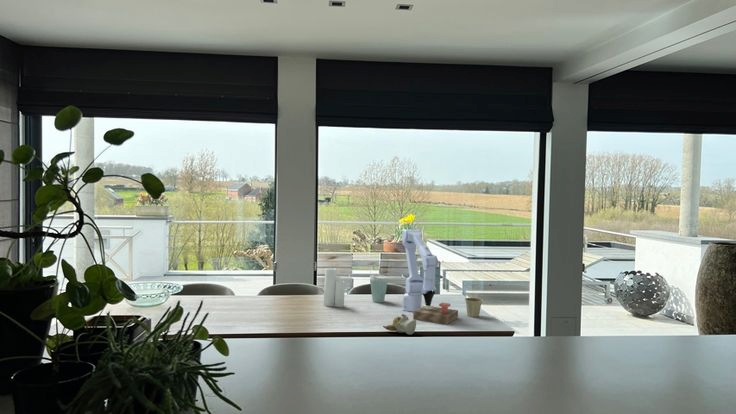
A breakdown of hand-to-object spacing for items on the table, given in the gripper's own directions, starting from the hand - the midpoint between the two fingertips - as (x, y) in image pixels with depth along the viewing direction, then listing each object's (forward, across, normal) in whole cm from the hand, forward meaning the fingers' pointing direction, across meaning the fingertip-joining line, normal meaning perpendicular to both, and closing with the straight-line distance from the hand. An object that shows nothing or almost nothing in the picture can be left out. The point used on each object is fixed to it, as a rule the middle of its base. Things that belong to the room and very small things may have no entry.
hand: (428, 305), depth 283 cm
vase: (+6, -6, +52) cm, 53 cm away
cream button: (+5, 0, 0) cm, 5 cm away
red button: (+3, 0, -9) cm, 10 cm away
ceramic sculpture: (+6, -34, -1) cm, 35 cm away
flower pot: (+6, +18, -18) cm, 27 cm away
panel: (+6, 0, -4) cm, 8 cm away
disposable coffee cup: (+6, +18, +38) cm, 42 cm away
